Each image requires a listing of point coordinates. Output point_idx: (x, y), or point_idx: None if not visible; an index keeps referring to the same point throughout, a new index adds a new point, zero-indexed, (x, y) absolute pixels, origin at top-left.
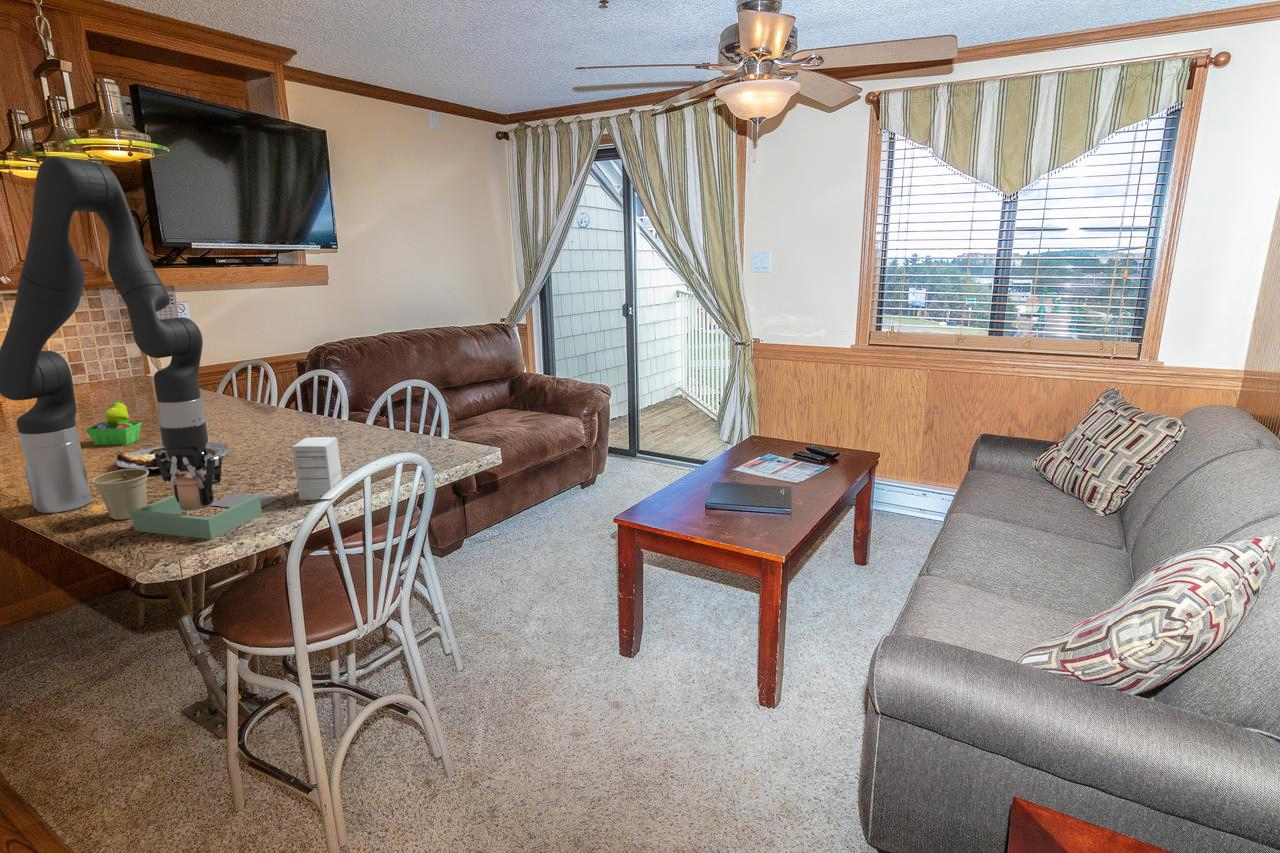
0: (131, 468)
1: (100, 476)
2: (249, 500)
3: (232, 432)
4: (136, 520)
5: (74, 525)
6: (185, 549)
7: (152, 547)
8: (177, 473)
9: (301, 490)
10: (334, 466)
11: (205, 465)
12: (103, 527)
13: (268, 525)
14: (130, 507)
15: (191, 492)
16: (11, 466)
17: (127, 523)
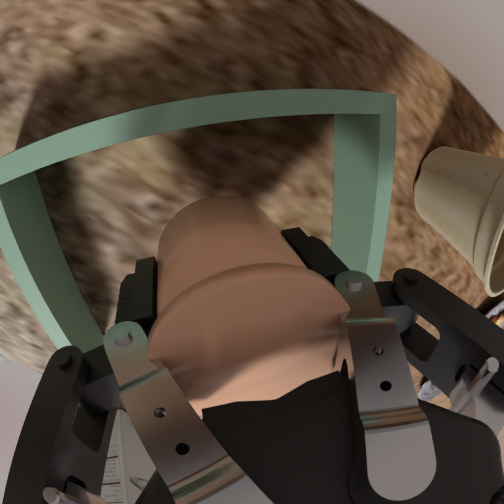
0: (497, 304)
1: None
2: None
3: (439, 402)
4: (358, 90)
5: (477, 102)
6: (19, 58)
7: (144, 3)
8: (346, 347)
9: (115, 430)
10: None
11: (51, 490)
12: (433, 98)
13: (2, 300)
14: (441, 175)
15: (172, 272)
16: None
17: (407, 134)
